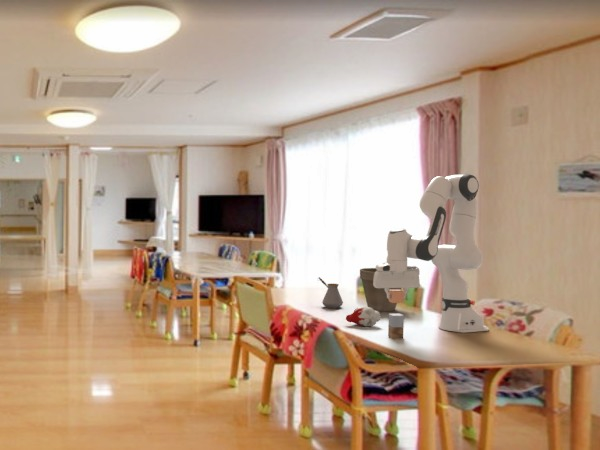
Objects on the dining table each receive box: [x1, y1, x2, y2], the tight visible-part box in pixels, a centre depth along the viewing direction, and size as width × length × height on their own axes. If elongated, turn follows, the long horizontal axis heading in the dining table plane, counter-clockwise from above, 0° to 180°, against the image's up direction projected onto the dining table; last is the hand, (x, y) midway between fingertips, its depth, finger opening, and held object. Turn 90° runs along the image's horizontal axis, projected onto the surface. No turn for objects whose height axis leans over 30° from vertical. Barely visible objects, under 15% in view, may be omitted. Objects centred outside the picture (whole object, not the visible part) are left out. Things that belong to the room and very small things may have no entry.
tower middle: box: [388, 312, 405, 328], centre depth 269 cm, size 5×5×5 cm
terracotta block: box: [389, 289, 405, 304], centre depth 269 cm, size 5×5×5 cm
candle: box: [345, 306, 381, 327], centre depth 294 cm, size 9×11×15 cm
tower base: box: [387, 324, 404, 340], centre depth 269 cm, size 5×5×5 cm
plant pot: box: [359, 267, 403, 312], centre depth 339 cm, size 25×25×22 cm
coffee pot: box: [317, 277, 344, 309], centre depth 347 cm, size 21×12×15 cm, turn 29°
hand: (396, 298), depth 269 cm, fingers closed on terracotta block, 5 cm apart
